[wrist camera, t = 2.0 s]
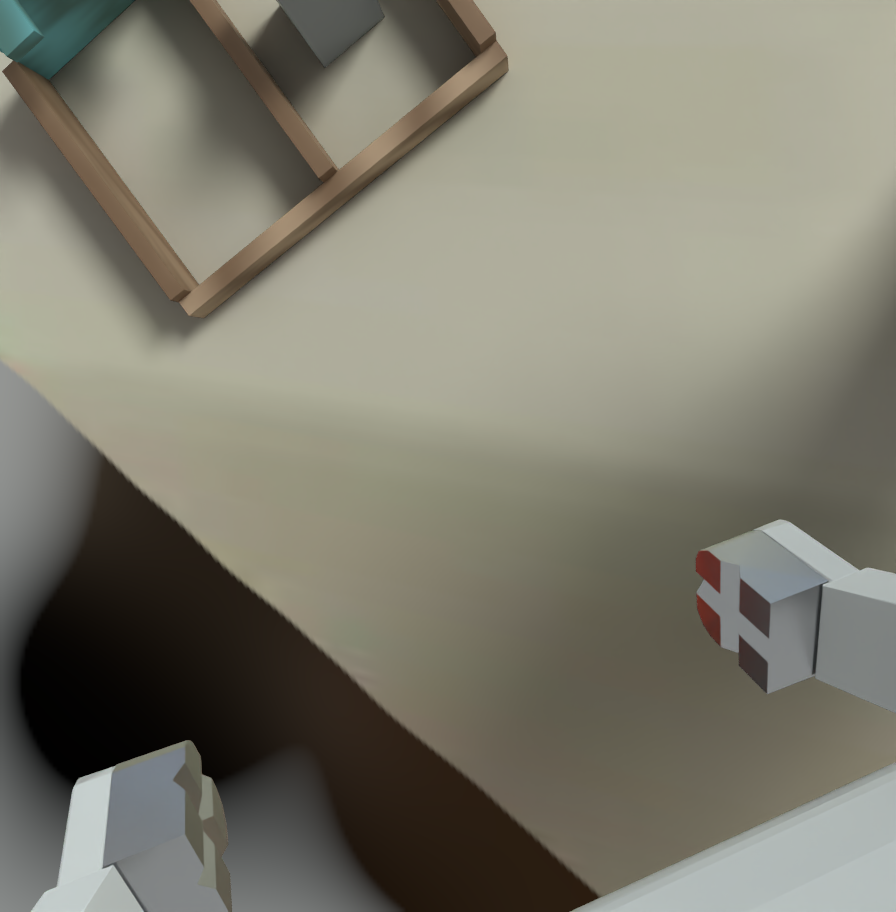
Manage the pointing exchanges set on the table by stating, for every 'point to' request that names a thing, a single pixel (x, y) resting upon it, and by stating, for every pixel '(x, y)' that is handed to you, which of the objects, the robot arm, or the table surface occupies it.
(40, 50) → the frame
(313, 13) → the tall grey block
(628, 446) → the table surface
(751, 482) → the table surface
